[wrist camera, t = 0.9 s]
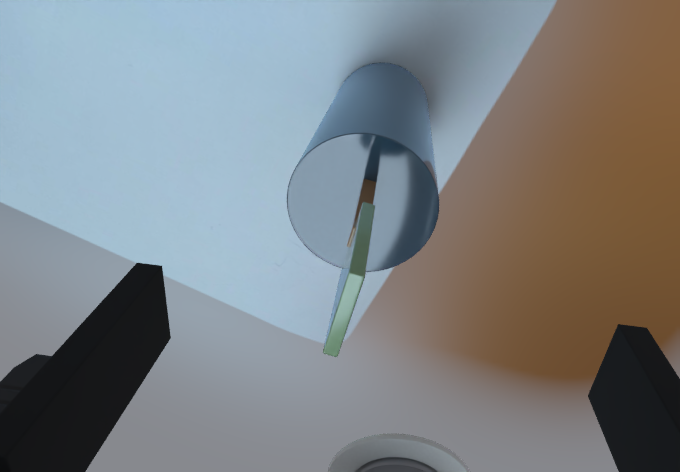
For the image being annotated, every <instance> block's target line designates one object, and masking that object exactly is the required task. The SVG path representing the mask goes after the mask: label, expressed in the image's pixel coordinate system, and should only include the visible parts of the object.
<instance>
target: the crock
mask: <svg viewBox="0 0 680 472" xmlns="http://www.w3.org/2000/svg"><path fill="white" fill-rule="evenodd" d="M287 207H288V214H289V217H290V221H291V223H292V226H293V228H294V230H295V232H296V233H297V235H298V237H299V238H300V240H301V241H302V242H303V243H304V245H305V246H306V247H307V248H308V249H309V250H310V251H311V252H313V253H314V254H315V255H316V256H318V257H319V258H321V259H322V260H324V261H326V262H328V263H330V264H332V265H334V266H337V267H340V268H342V270H341V274H340V279H339V283H338V287H337V292H336V296H335V301H334V305H333V310H332V314H331V318H330V323H329V327H328V332H327V336H326V341H325V345H324V349H323V353H324V354H328V355H331V356H334V357H337V356H338V354H339V351H340V348H341V345H342V342H343V339H344V336H345V333H346V330H347V327H348V324H349V322H350V319H351V316H352V313H353V310H354V307H355V304H356V301H357V298H358V295H359V292H360V289H361V287H362V284H363V281H364V278H365V272H371V271H380V270H384V269H388V268H391V267H394V266H397V265H399V264H401V263H403V262H405V261H406V260H408V259H409V258H411V257H413V256H414V255H415V254H416V253H417V252H418V251H420V249H421V248H422V247H423V246H424V245H425V244H426V242H427V241H428V240H429V238H430V236H431V235H432V233H433V231H434V228H435V225H436V222H437V219H438V213H439V196H438V187H437V178H436V170H435V161H434V152H433V144H432V135H431V126H430V118H429V109H428V101H427V97H426V93H425V91H424V88H423V87H422V85H421V83H420V82H419V81H418V79H417V78H416V77H415V76H414V75H413V74H412V73H411V72H409V71H408V70H406V69H404V68H403V67H401V66H398V65H395V64H391V63H373V64H369V65H366V66H363V67H361V68H359V69H357V70H356V71H354V72H353V73H352V74H351V75H350V76H349V77H348V78H347V79H346V80H345V81H344V83H343V84H342V86H341V87H340V89H339V91H338V93H337V94H336V96H335V98H334V100H333V102H332V103H331V105H330V107H329V109H328V111H327V112H326V114H325V116H324V118H323V119H322V121H321V123H320V125H319V127H318V128H317V130H316V132H315V134H314V136H313V137H312V139H311V141H310V143H309V145H308V146H307V148H306V150H305V152H304V153H303V155H302V157H301V159H300V161H299V162H298V164H297V166H296V168H295V170H294V172H293V174H292V176H291V179H290V182H289V186H288V192H287Z"/></svg>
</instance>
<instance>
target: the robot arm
mask: <svg viewBox="0 0 680 472" xmlns="http://www.w3.org/2000/svg"><path fill="white" fill-rule="evenodd" d="M170 338H171V337H170V329H169V321H168V313H167V305H166V296H165V287H164V279H163V271H162V266H158V265H150V264H142V263H137V264H136V265H135V266H134V267H133V268H132V269H131V270H130V271H129V272H128V274H127V275H126V276H125V277H124V278H123V279H122V280H121V281H120V282H119V283H118V284H117V286H116V287H115V288H114V289H113V290H112V291H111V292H110V293H109V294H108V295H107V297H106V298H105V299H104V300H103V301H102V302H101V303H100V304H99V305H98V306H97V307H96V309H95V310H94V311H93V312H92V313H91V314H90V315H89V316H88V317H87V318H86V320H85V321H84V322H83V323H82V324H81V325H80V326H79V327H78V328H77V330H75V332H74V333H73V334H72V335H71V336H70V337H69V338H68V339H67V340H66V342H65V343H64V344H63V345H62V346H61V347H60V348H59V349H58V350H57V351H56V352H55V354H54V355H53V356H46V355H39V354H36V355H34V356H33V357H31V358H29V359H27V360H26V361H24V362H23V363H21V364H19V365H18V366H16V367H14V368H13V369H12V370H11V372H10V373H8V375H7V376H6V377H5V378H4V379H3V380H2V381H1V382H0V472H85V471H86V470H87V468H88V466H89V465H90V463H91V462H92V460H93V459H94V457H95V456H96V454H97V452H98V451H99V449H100V448H101V446H102V444H103V443H104V441H105V440H106V438H107V437H108V435H109V434H110V432H111V431H112V429H113V427H114V426H115V424H116V423H117V421H118V420H119V418H120V416H121V414H122V413H123V412H124V410H125V409H126V407H127V405H128V404H129V402H130V401H131V399H132V398H133V396H134V395H135V393H136V391H137V390H138V388H139V387H140V385H141V384H142V382H143V380H144V379H145V377H146V376H147V374H148V373H149V371H150V369H151V368H152V366H153V365H154V363H155V362H156V360H157V359H158V357H159V355H160V354H161V352H162V351H163V349H164V348H165V346H166V344H167V343H168V341H169V340H170ZM588 397H589V400H590V402H591V405H592V407H593V410H594V412H595V415H596V417H597V420H598V422H599V424H600V427H601V429H602V432H603V434H604V437H605V439H606V442H607V444H608V446H609V449H610V451H611V454H612V456H613V459H614V461H615V464H616V466H617V469H618V471H619V472H680V379H679V377H678V376H677V374H676V372H675V371H674V369H673V368H672V366H671V365H670V363H669V362H668V360H667V359H666V357H665V355H664V354H663V352H662V351H661V350H660V348H659V346H658V345H657V343H656V342H655V340H654V338H653V337H652V335H651V334H650V332H649V331H648V329H647V328H643V327H635V326H628V325H620V324H618V326H617V329H616V331H615V333H614V335H613V338H612V340H611V343H610V345H609V347H608V350H607V352H606V354H605V357H604V359H603V361H602V364H601V366H600V368H599V371H598V373H597V376H596V378H595V380H594V383H593V385H592V387H591V390H590V392H589V395H588ZM356 472H437V471H436V470H435V469H433V468H432V467H430V466H429V465H427V464H425V463H422V462H420V461H416V460H413V459H408V458H401V457H387V458H380V459H376V460H373V461H370V462H368V463H366V464H364V465H363V466H361V467H360V468H359V469H358V470H357V471H356Z"/></svg>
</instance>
